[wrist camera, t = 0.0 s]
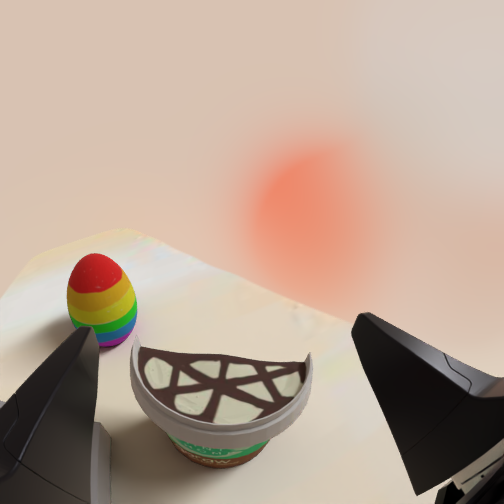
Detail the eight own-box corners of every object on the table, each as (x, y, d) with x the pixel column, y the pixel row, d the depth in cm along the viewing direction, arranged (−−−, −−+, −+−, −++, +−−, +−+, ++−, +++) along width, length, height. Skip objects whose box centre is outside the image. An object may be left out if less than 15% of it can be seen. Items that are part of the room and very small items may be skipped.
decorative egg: (131, 303, 33) (122, 234, 29) (150, 345, 28) (138, 267, 23) (75, 316, 29) (56, 246, 24) (83, 362, 23) (54, 285, 19)
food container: (137, 466, 15) (95, 410, 10) (151, 409, 20) (128, 333, 16) (292, 481, 15) (337, 434, 11) (287, 422, 21) (318, 351, 17)
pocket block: (117, 560, 6) (103, 560, 5) (-7, 514, 3) (-28, 504, 2) (111, 437, 17) (100, 422, 15) (7, 415, 14) (-8, 397, 12)
